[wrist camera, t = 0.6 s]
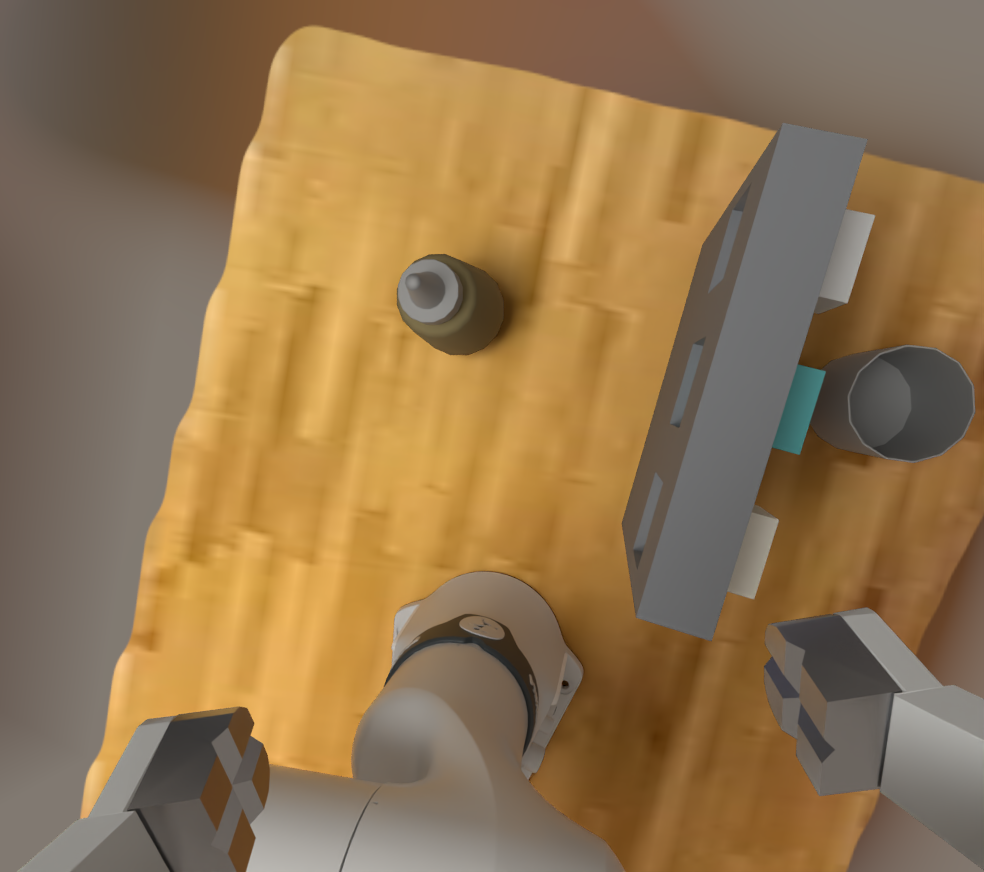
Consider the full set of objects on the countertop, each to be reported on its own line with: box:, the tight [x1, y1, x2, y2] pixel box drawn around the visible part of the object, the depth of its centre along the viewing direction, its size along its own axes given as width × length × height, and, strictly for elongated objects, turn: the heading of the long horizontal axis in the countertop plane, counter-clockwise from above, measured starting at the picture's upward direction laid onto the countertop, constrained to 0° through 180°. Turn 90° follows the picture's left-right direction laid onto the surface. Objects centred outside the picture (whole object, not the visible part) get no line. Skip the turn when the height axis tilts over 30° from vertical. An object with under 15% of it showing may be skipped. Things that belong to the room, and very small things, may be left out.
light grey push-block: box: [814, 209, 875, 314], centre depth 39 cm, size 5×6×5 cm
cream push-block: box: [727, 505, 779, 599], centre depth 41 cm, size 5×6×5 cm
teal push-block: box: [772, 365, 826, 455], centre depth 40 cm, size 5×6×5 cm
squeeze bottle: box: [397, 254, 504, 355], centre depth 52 cm, size 8×8×18 cm
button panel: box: [622, 123, 868, 641], centre depth 46 cm, size 26×4×26 cm, turn 165°
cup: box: [810, 345, 975, 463], centre depth 51 cm, size 8×8×10 cm
